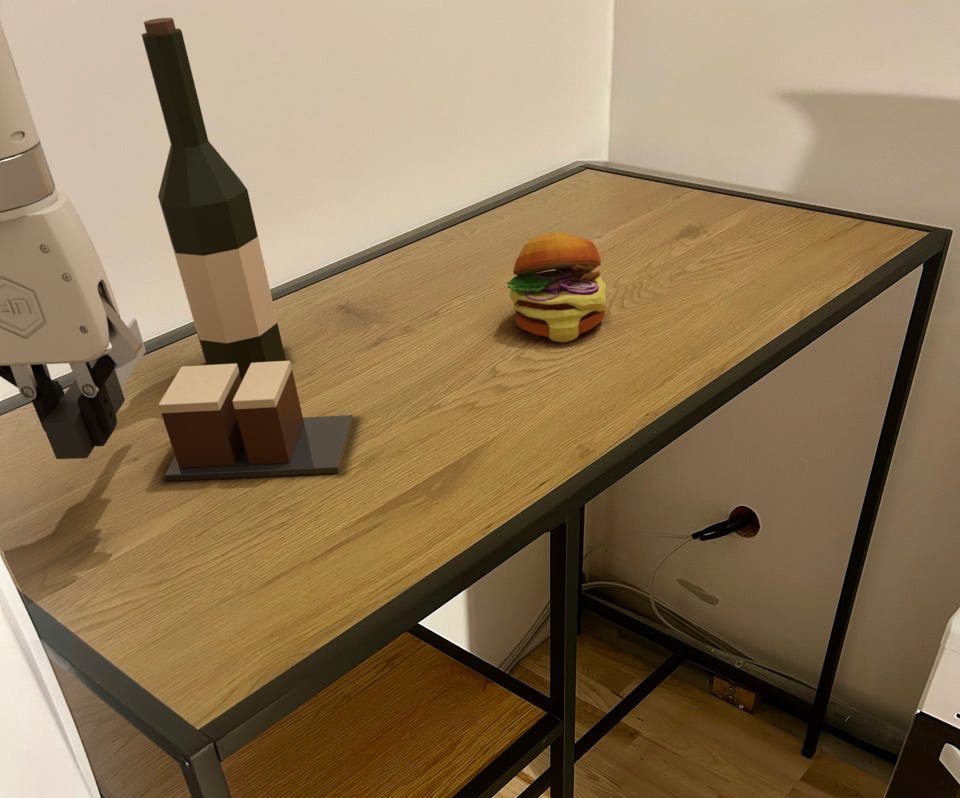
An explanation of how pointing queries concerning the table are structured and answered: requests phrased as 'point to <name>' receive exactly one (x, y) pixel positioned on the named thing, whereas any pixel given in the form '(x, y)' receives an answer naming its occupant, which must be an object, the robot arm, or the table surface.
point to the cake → (203, 416)
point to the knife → (67, 419)
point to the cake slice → (269, 412)
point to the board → (311, 455)
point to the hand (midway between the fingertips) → (85, 436)
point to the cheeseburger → (558, 287)
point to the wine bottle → (209, 220)
